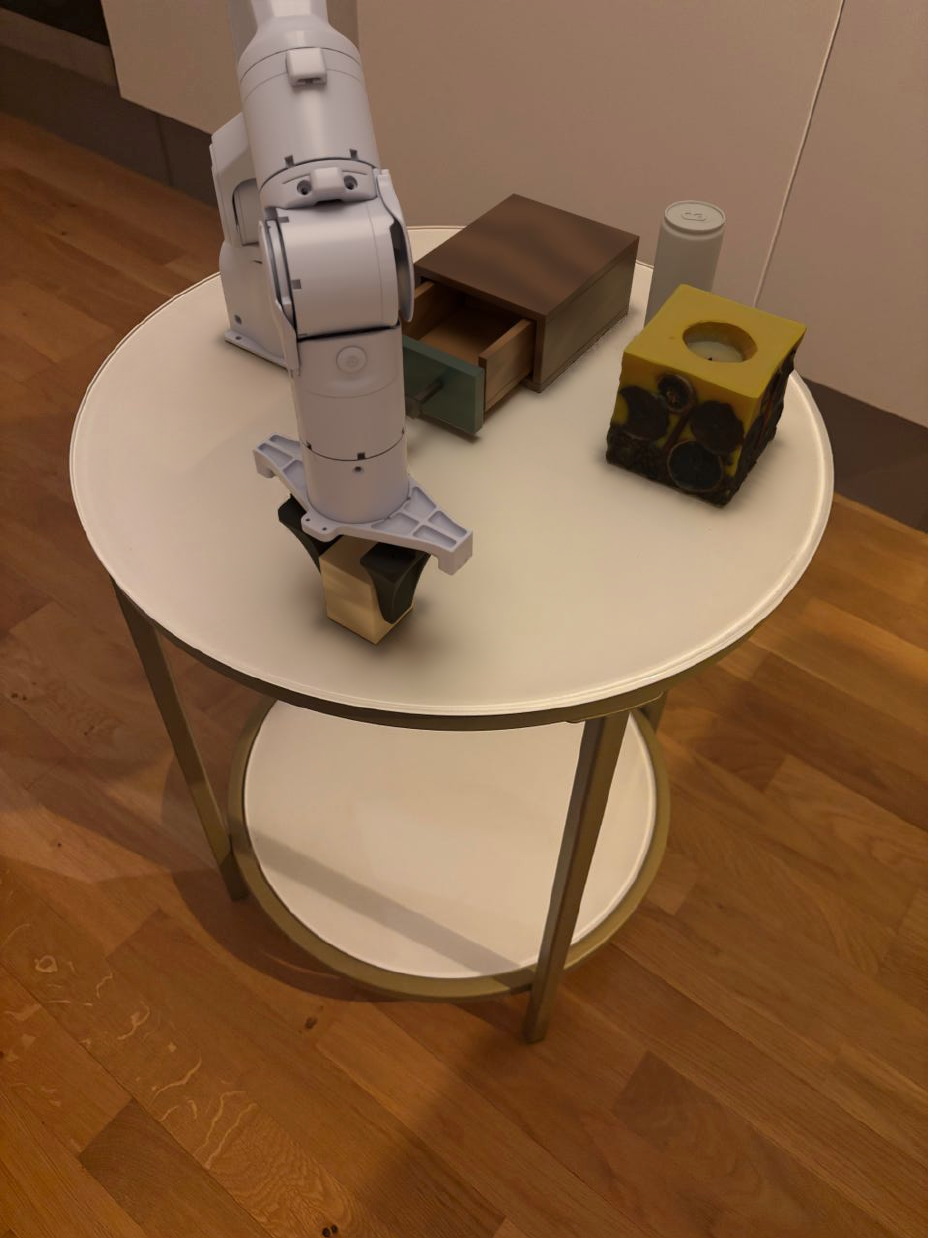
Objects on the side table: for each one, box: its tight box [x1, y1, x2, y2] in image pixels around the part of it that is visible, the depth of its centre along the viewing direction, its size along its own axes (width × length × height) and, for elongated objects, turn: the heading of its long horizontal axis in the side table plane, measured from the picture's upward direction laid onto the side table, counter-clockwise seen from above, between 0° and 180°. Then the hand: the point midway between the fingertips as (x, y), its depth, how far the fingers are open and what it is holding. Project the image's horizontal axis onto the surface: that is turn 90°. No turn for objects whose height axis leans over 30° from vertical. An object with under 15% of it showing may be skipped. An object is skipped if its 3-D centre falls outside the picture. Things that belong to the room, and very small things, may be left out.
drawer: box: [398, 279, 537, 436], centre depth 76 cm, size 18×11×5 cm, turn 145°
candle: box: [605, 284, 808, 508], centre depth 70 cm, size 10×10×10 cm
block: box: [319, 535, 415, 645], centre depth 61 cm, size 4×4×6 cm
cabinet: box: [413, 193, 641, 393], centre depth 82 cm, size 15×13×7 cm
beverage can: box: [642, 199, 726, 329], centre depth 78 cm, size 5×5×12 cm
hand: (369, 596), depth 62 cm, fingers closed on block, 4 cm apart
